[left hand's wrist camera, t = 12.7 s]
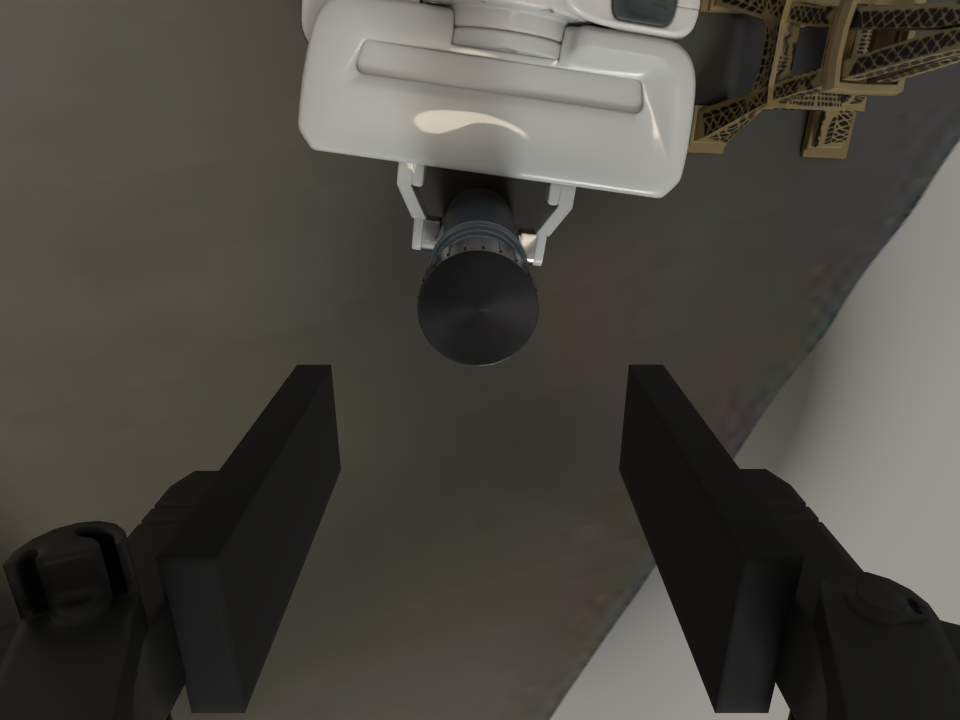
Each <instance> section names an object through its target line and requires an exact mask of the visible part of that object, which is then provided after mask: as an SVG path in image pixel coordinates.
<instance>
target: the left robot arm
mask: <svg viewBox="0 0 960 720" xmlns="http://www.w3.org/2000/svg"><path fill="white" fill-rule="evenodd" d="M340 471H341V466H340V456H339V445H338V434H337V424H336V413H335V402H334V392H333V381H332V371H331V365H297V366H296V367H295V369H294V370H293V371H292V373H291V374H290V375H289V377H288V378H287V379H286V381H285V382H284V384H283V385H282V386H281V388H280V389H279V390H278V392H277V393H276V394H275V396H274V397H273V398H272V400H271V401H270V402H269V404H268V405H267V407H266V408H265V409H264V411H263V412H262V413H261V415H260V416H259V417H258V419H257V420H256V421H255V423H254V424H253V426H252V427H251V428H250V430H249V431H248V432H247V434H246V435H245V436H244V438H243V439H242V440H241V442H240V443H239V444H238V446H237V447H236V449H235V450H234V451H233V453H232V454H231V455H230V457H229V458H228V459H227V461H226V462H225V463H224V465H223V466H222V467H221V469H220V470H219V471H194V472H193V473H191V474H189V475H188V476H186V477H185V478H183V479H182V480H180V481H178V482H177V483H175V484H174V485H172V486H171V487H170V488H169V489H168V490H167V491H166V492H165V494H164V495H163V496H162V497H161V498H160V500H159V501H158V502H157V503H156V504H155V508H154V509H151V510H150V511H149V513H148V514H147V515H146V516H145V517H144V519H143V520H142V524H139V525H138V526H137V527H136V528H135V529H134V531H133V532H132V533H131V534H130V535H129V537H128V538H127V537H126V533H125V531H124V530H123V529H122V528H120V527H119V526H118V525H116V524H113V523H108V522H102V521H93V522H81V523H76V524H72V525H68V526H64V527H61V528H57V529H54V530H52V531H50V532H47V533H45V534H43V535H41V536H38V537H36V538H34V539H32V540H31V541H29V542H28V543H26V544H25V545H23V546H22V547H21V548H19V549H18V550H16V551H15V552H14V553H13V554H12V555H11V556H10V558H9V559H8V560H7V561H6V562H5V563H4V565H3V568H4V571H5V574H6V576H7V579H8V582H9V585H10V588H11V591H12V594H13V597H14V600H15V603H16V605H17V608H18V611H19V614H20V617H21V621H20V623H18V624H15V625H11V626H7V627H2V628H0V720H172V716H171V710H172V708H173V706H174V704H175V702H176V700H177V698H178V696H179V694H180V692H181V691H182V689H183V687H184V685H185V686H186V690H187V695H188V699H189V703H190V708H191V712H192V713H245V711H246V709H247V706H248V704H249V701H250V698H251V696H252V693H253V691H254V688H255V686H256V683H257V681H258V678H259V676H260V673H261V671H262V668H263V666H264V663H265V660H266V658H267V655H268V653H269V650H270V648H271V645H272V643H273V640H274V638H275V635H276V633H277V630H278V628H279V625H280V622H281V620H282V617H283V615H284V612H285V610H286V607H287V605H288V602H289V600H290V597H291V595H292V592H293V590H294V587H295V585H296V582H297V579H298V577H299V574H300V572H301V569H302V567H303V564H304V562H305V559H306V557H307V554H308V552H309V549H310V547H311V544H312V541H313V539H314V536H315V534H316V531H317V529H318V526H319V524H320V521H321V519H322V516H323V514H324V511H325V509H326V506H327V503H328V501H329V498H330V496H331V493H332V491H333V488H334V486H335V483H336V481H337V478H338V476H339V473H340ZM619 471H620V473H621V476H622V478H623V481H624V483H625V486H626V488H627V491H628V493H629V496H630V498H631V501H632V503H633V506H634V509H635V511H636V514H637V516H638V519H639V521H640V524H641V526H642V529H643V531H644V534H645V536H646V539H647V541H648V544H649V547H650V549H651V552H652V554H653V557H654V559H655V562H656V564H657V567H658V569H659V572H660V574H661V577H662V579H663V582H664V585H665V587H666V590H667V592H668V595H669V597H670V600H671V602H672V605H673V607H674V610H675V612H676V615H677V617H678V620H679V622H680V625H681V627H682V630H683V632H684V635H685V638H686V640H687V643H688V645H689V648H690V650H691V653H692V655H693V658H694V660H695V663H696V666H697V668H698V671H699V673H700V676H701V678H702V681H703V683H704V686H705V688H706V691H707V693H708V696H709V698H710V701H711V704H712V706H713V709H714V711H715V713H768V712H769V708H770V703H771V699H772V695H773V690H774V686H775V682H776V684H777V685H778V687H779V689H780V691H781V693H782V695H783V697H784V699H785V701H786V703H787V704H788V706H789V708H790V713H789V717H788V720H960V625H956V624H952V623H948V622H945V621H941V620H939V618H938V617H937V615H936V614H935V612H934V611H933V610H932V608H931V607H930V605H929V604H928V603H927V602H926V601H924V600H923V599H922V598H920V597H919V596H918V595H917V594H915V593H914V592H913V591H912V590H910V589H908V588H906V587H904V586H902V585H900V584H898V583H896V582H894V581H892V580H890V579H888V578H885V577H881V576H878V575H875V574H871V573H868V572H863V570H862V569H861V568H860V567H859V566H858V564H857V563H856V562H855V561H854V560H853V558H852V557H851V556H850V555H849V554H848V553H847V551H846V550H845V549H844V548H843V547H842V545H841V544H840V543H839V542H838V541H837V540H836V538H835V537H834V536H833V535H832V534H831V532H830V531H829V530H828V529H827V528H826V527H825V525H824V524H823V523H822V522H819V520H818V517H817V516H816V515H815V514H814V512H813V511H812V510H811V509H810V508H809V507H806V503H805V502H804V501H803V499H802V498H801V497H800V496H799V495H798V493H797V492H796V491H795V490H794V489H793V487H792V486H791V485H790V484H788V483H787V482H785V481H784V480H782V479H780V478H779V477H777V476H776V475H774V474H772V473H771V472H769V471H768V470H766V469H739V468H738V466H737V465H736V463H735V462H734V461H733V459H732V458H731V457H730V455H729V454H728V453H727V451H726V450H725V449H724V447H723V446H722V444H721V443H720V442H719V440H718V439H717V438H716V436H715V435H714V434H713V432H712V431H711V430H710V428H709V427H708V426H707V424H706V423H705V421H704V420H703V419H702V417H701V416H700V415H699V413H698V412H697V411H696V409H695V408H694V407H693V405H692V404H691V402H690V401H689V400H688V398H687V397H686V396H685V394H684V393H683V392H682V390H681V389H680V388H679V386H678V385H677V384H676V382H675V381H674V379H673V378H672V377H671V375H670V374H669V373H668V371H667V370H666V369H665V367H664V366H663V365H629V371H628V381H627V392H626V402H625V413H624V424H623V434H622V445H621V456H620V466H619Z"/></svg>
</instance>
